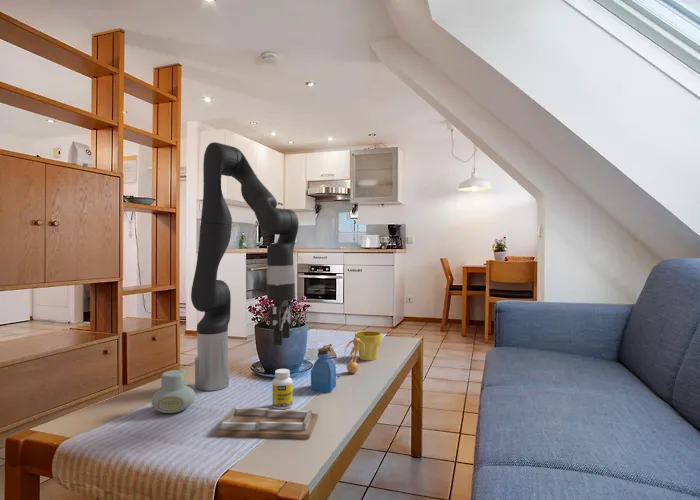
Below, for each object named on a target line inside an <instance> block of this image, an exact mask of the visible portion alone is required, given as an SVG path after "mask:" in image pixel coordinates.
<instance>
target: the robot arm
mask: <svg viewBox="0 0 700 500" xmlns="http://www.w3.org/2000/svg"><path fill="white" fill-rule="evenodd" d="M202 171H203V172H202V173H203V176H202V177H203V180H202V181H203V189H202V191H203V193H202V206H201V208H202V209H201V215H200V216H201V217H200V224H199V225H200V226H199V237H198V238H199V240H198V246H197V247H198V248H197V256H196V264H195V271H194V275H193V281H192V284H191V285H192V286H191V291H190V292H191V293H190V299H191V303H192V306H193V307H194V308H195V309H196V311H198V312H203V313H204V314H203V317H202V318H201V319H200V320H199V321H198V323H197V325H196V346H197V347H196V351H197V356H196V357H194V385H195V388H194V389H196V390H201V391H207V392H208V391H210V392H211V391H218V390H223V389H224V388H227V387H228V386H229V382H230V381H229V379H230V377H229V336H228V335H229V334H228V331H229V328H228V327H229V324H230V320H231V303H232V299H231V296H232V295H231V290H230V287H229V285H228V284H227V283H226V282H225V281H224V280H221V279H217V278H218V271H219V266H220V263H221V261H222V259H223V256H224V255H225V253H226V252H227V249H228V247H229V244H230V241H231V237H232V228H233V227H232V224H233V217H232V214H231V211H230V208H229V206H228V204H227V202H226V199H225V197H224V195H223V191H222V176H226V177H232V178H233V179H235V180H237V182H238V183H239V184H240V193H241V196H242V198H243V200H244V202H246V204H247V205H248V206H249V208H250V209H251V210H252V211H253V212H254V215H255V218H256V220H257V222H258V226H259V227H260V229H261V230H262V231H263V232H265V233H266V234H267V235H278V239H277V241H276V242H275V243H272V244H269V245H268V246H267V248H266V253H267V255H266V260H267V262H266V263H267V268H266V299H267V300H269V301H274V302H273V306H270V307H269V329H270V331H272V332H273V335H272V336H273V337H272V338H273V345H274V346H282V345H283V339H288V338H290V336H291V332H290V331H291V330H290V329H291V322H292V321H293V315H292V311H293V310H292V308H293V307H292V303H293V301H292V300H294V299H295V298H296V284H295V283H296V282H295V281H296V280H295V270H294V269H295V268H294V249H295V244H296V240H297V236H298V233H299V232H298V231H299V226H300V223H299V219H298V216H297V214H296V212H295V211H293V209H288V208H277V206H278V204H277V203H278V201H277V199H276V198H275V196H274V195H273V193H272V192H270V191H269V189H268V188H267V187H266V186H265V185H264V184H263V183H262V181H260V179H259V178H258V176H257V174H256V173H255V171H254V170H253V168H252V166H251V164H250V162H249V161H248V159H247V158H246V157H245V155H244V153H243V152H242V151H241V150H240V149H239V148H237V147H235V146H231V145H228V144H224V143H219V142H216V141H214V142H210V143H209V144H208V146H206V149H205V150H204V155H203V168H202Z"/></svg>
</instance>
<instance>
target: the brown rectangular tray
mask: <svg viewBox="0 0 700 500" xmlns="http://www.w3.org/2000/svg"><path fill="white" fill-rule="evenodd" d="M318 418H319V413H315V412H314V413H313V410H299V409H298V410H297V409H296V410H295V409H271V408H269V407H268V408H267V407H266V408H263V407H259V408H258V407H232V408H231V409H230V410H229V412H228V413H227V414H226V415H225V416H224V417H223V418H222V419H221V420H220V421H219V422H218V423H217V425H218V426H217V427H218V429H217V430H216V431H215V437H237V438H238V437H239V438H266V439H267V438H270V439H271V438H272V439H274V438H275V439H299V440H300V439H303V440H305V439H306V440H309V439H310V438H311V435H312V434H313V430H314V428H315V426H316V424H317V421H318V420H319V419H318Z"/></svg>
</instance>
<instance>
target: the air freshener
mask: <svg viewBox="0 0 700 500" xmlns="http://www.w3.org/2000/svg"><path fill="white" fill-rule="evenodd" d="M195 401H196V392H195V391H194V389H193V388H191V387H190V386H189V385H186V372H185V371H184V370H181V369H171V370H168V371H164V372H163V373H162V374H161V388H160V389H158V391H156V392H155V393H154V395H153V396H152V398H151V401H150V402H151V406H152V407H153V408H154V410H156V411H157V412H160V413H163V414H166V413H174V414H178V413H180V412H183V411H185V410H186V409H188V408H190V406H192V404H194V402H195ZM177 412H178V413H177Z"/></svg>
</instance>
